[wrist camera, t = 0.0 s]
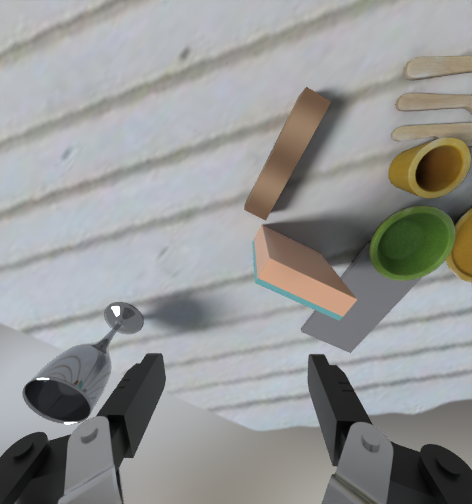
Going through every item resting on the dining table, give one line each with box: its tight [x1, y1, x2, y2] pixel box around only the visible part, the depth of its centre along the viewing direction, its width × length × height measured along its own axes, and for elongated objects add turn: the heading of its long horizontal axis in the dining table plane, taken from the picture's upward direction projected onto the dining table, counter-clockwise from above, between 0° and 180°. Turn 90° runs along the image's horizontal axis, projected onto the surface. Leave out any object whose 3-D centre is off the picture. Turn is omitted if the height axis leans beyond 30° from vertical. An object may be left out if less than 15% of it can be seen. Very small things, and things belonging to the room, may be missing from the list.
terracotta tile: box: [252, 225, 358, 321], centre depth 27 cm, size 3×10×12 cm, turn 64°
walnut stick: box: [245, 87, 331, 220], centre depth 27 cm, size 14×3×4 cm, turn 154°
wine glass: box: [23, 302, 143, 424], centre depth 33 cm, size 8×8×15 cm
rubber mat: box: [301, 243, 422, 353], centre depth 35 cm, size 18×10×1 cm, turn 154°
